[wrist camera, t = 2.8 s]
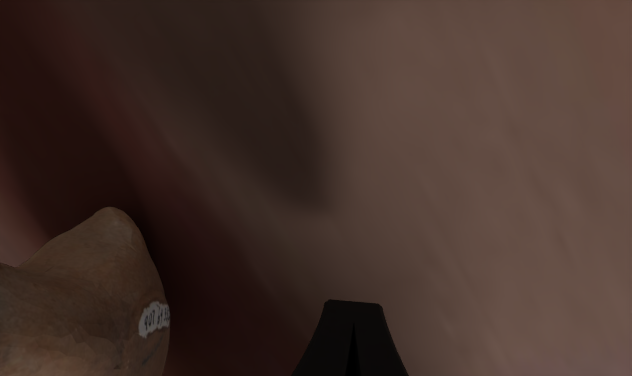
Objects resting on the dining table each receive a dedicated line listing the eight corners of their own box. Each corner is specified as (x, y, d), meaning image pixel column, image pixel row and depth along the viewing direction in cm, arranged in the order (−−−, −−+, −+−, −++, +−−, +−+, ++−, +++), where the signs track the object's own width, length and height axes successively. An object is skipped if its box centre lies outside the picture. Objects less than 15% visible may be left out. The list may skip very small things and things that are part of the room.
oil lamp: (25, 104, 14) (-305, 293, 7) (171, 108, 14) (-28, 309, 7) (90, 349, 18) (-80, 621, 11) (203, 357, 18) (100, 641, 11)
